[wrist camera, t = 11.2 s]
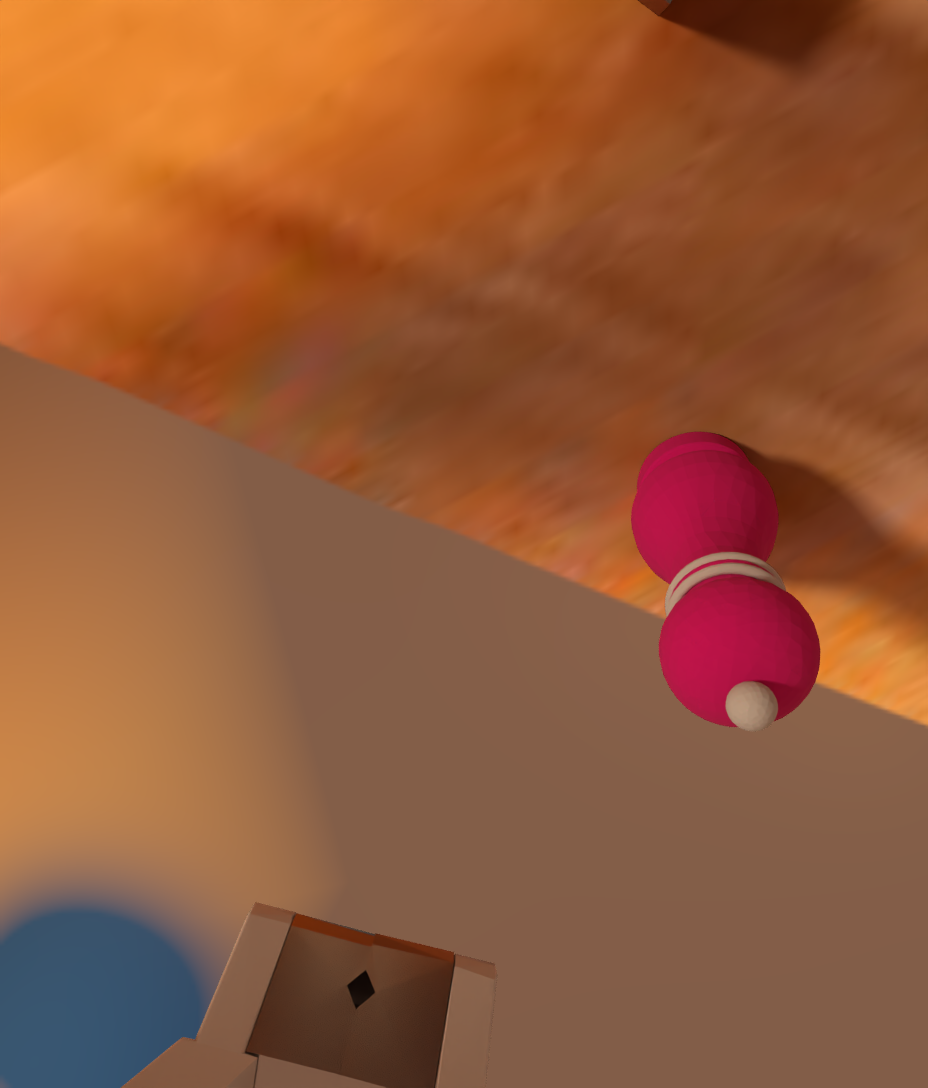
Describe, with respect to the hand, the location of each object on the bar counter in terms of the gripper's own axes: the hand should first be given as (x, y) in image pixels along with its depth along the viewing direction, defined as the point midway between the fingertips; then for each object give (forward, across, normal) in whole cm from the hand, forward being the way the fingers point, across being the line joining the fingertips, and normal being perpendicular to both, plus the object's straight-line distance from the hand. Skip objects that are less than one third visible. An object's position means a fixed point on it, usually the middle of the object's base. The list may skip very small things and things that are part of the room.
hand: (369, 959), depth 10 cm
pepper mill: (+37, -11, +8) cm, 40 cm away
